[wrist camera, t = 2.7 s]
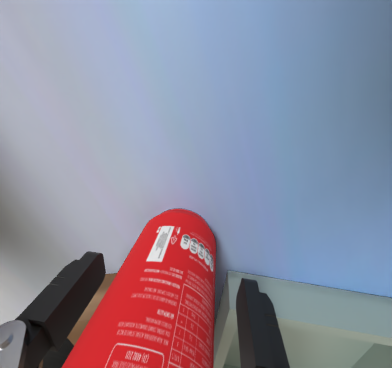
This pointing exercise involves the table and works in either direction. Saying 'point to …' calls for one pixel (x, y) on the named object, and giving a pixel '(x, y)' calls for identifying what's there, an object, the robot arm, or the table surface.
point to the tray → (312, 325)
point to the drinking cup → (58, 356)
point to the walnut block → (90, 309)
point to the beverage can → (157, 301)
